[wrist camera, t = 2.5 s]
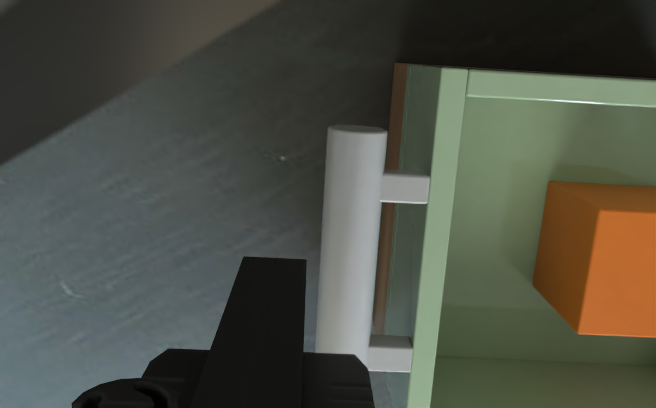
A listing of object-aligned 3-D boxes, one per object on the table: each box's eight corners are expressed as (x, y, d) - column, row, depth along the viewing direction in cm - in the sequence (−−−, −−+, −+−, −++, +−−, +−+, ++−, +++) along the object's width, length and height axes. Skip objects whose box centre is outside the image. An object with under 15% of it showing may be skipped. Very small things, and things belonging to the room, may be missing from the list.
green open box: (726, 83, 21) (893, 94, 15) (663, 371, 24) (783, 481, 18) (327, 59, 21) (332, 61, 15) (310, 356, 23) (308, 462, 17)
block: (657, 186, 21) (734, 216, 17) (637, 291, 22) (705, 341, 18) (547, 180, 21) (599, 208, 17) (531, 286, 22) (577, 335, 18)
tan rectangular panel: (668, 79, 25) (724, 83, 21) (619, 331, 27) (662, 370, 24) (394, 62, 24) (407, 64, 21) (372, 320, 27) (381, 358, 24)
